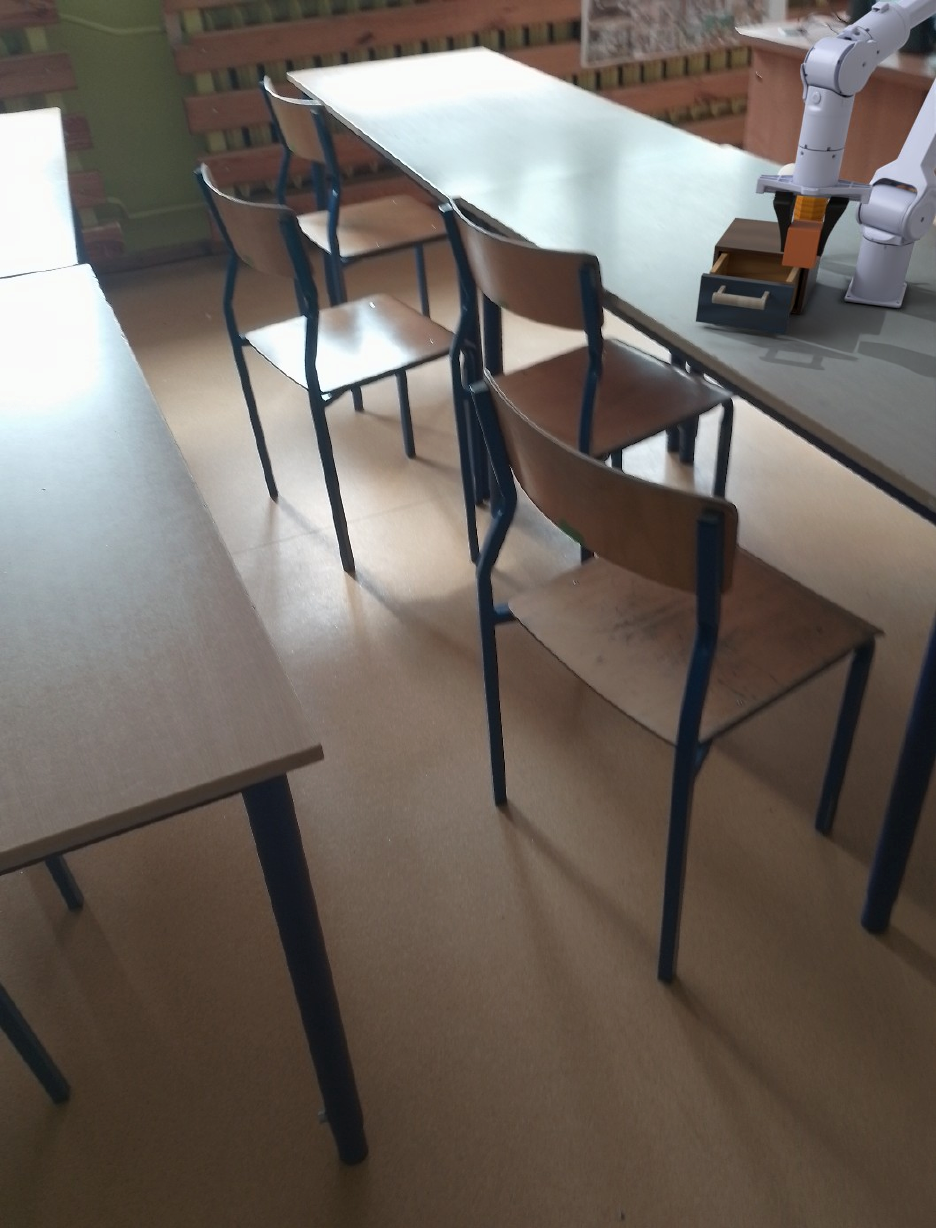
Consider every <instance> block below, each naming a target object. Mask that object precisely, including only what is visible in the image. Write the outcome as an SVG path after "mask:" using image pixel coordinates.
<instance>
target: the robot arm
mask: <svg viewBox="0 0 936 1228" xmlns="http://www.w3.org/2000/svg"><path fill="white" fill-rule="evenodd" d="M935 14H936V0H898V2H894V1H880V0H879V1H877V2H876V3H875V4H873V5H872V6H871V10H870V11H869V12H868V13H866V14H865V15H863V16H862V17H861V18H859V19H858V20H856V21H855V22H854V23H853V24H849V25H847V26H846V27H844V29H843V31H841V32H840V33H839V34H837V35H836V36H835V37H833V36H824V37H822V38H820V40H817V41H816V42H815V43H814V44H813V45H812V46H811V47H810V48H809V50H808V51H807V53H806V55H805V58H804V61H803V63H801V65H800V79H801V82H802V85H803V93H802V100H803V103H804V104H805V105H804V111H803V116H802V122H801V128H800V134H799V140H798V145H797V152H796V156H795V162H794V163H795V168H794V174H793V175H777V174H760V175H759V176H758V177H757V181H756V185H755V186H756V188H755V194H760V195H764V194H765V193H767V194H774V198H773V200H772V207H773V210H774V212H775V213H774V214H775V216H776V219H777V222H778V224H779V230H780V238H781V250H780V252H784V250H785V245H786V239H787V233H788V228H789V227H790V225H791V223H792V221H793V217H794V208H795V203H796V199H797V196H806V197H816V198H827V199H828V203H827V205H826V210H825V215H824V219H823V228H822V233H821V237H820V241H819V245H818V250H817V256H821V257H823V254H824V251H825V247H826V244H827V241H828V239H829V237H830V236H831V233H832V232H833V230H834V228H835V226H836V225H837V223H838V222H839V220H840V218H841V217H842V216H843V215H844V213H845V211H846V210H847V208H848V206H849V203H850V202H856V205H855V211H854V216H855V217H854V218H855V221H856V222H857V224H858V225H859V226H860V227H859V229H858V230H859V231H858V232H859V233H861V234H862V237H861V242H860V246H859V250H858V256H857V260H856V263H855V269H854V274H853V277H852V278H851V281H850V283H849V286H848V287H847V291H846V293H845V296H844V302H850V303H856V304H864V305H870V306H871V305H872V306H878V307H879V306H880V307H887V308H895V309H899V308H901V307H902V304H903V300H904V297H905V293H906V290H907V286H908V283H906V282H905V281H906V277H907V273H908V270H909V266H910V261H911V257H912V254H913V250H914V246H915V242H917V241H920V240H921V239H922V238H923V237H924V236H925V235H926V234H927V233H928V232H929V230H930V229H931V227H932V226H933V224H934V221H935V220H936V173H935V170H936V77H935V78H934V80H933V82H932V85H931V87H930V89H929V91H928V93H927V95H926V97H925V100H924V101H923V104H922V106H921V108H920V110H919V112H918V115H917V117H916V118H915V120H914V122H913V125H912V126H911V129H910V131H909V133H908V135H907V138H906V140H905V141H904V143H903V146H902V148H901V151H900V153H899V155H898V156H897V158H896V159H894V160H893V161H891V162H889V163H887V164H885V165H882V166H881V167H879V168H877V169H876V171H875V173H874V175H873V177H872V179H871V181H870V182H869V183H864V182H863V183H862V182H858V181H852V180H848V179H842V178H840V172H841V167H842V162H843V159H844V152H845V148H846V142H847V136H848V133H849V132H848V131H849V127H850V121H851V117H852V113H853V108H854V103H855V98H856V97H855V96H856V94H857V93H859V92H861V91H862V90H863V88H864V87H865V86H866V84H867V82H868V81H869V78H870V77H871V75H872V73H873V72H875V70H876V68H877V67H878V65H879V64H880V63H882V62H883V61H885V60H886V59H888V58H889V57H891V56H892V55H893V54H894V53H896V52H897V51H898V50H900V49H901V48H902V47H904V45H905V44H906V43H907V41H908V40H909V38H910V33H911V30H912V29H913V28H915V27H916V26H918V25H919V24H921V23H923V22H924V21H926V20H927V19H929V18H930V17H932V16H934V15H935ZM899 186H902V187H899ZM903 186H904V187H906V188H910V189H913V190H916V191H913V190H909V189H906V188H903Z"/></svg>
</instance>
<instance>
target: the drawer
mask: <svg viewBox="0 0 936 1228" xmlns="http://www.w3.org/2000/svg"><path fill="white" fill-rule="evenodd" d="M782 262H783V258H774V257H766V256H758V255H749V254H741V253H732V252H723V253H722V255H721V256H720V257H719V259H718V260H717V262H716V263H715V265H714V266H713V267H712V266H711V269H710V271H709V273H706V272H702V274H701V276H700V283H699V292H698V299H697V307H696V314H695V315H696V316H695V322H696V323H703V324H709V325H716V326H722V327H730V328H738V329H742V330H743V329H745V330H752V331H757V332H764V333H770V334H771V333H772V334H778V335H786V333H787V329H788V326H789V325H788V324H789V318H790V315H791V313H790V312H791V310H792V308H793V306H794V304H795V302H796V300H797V295H798V290H799V285H800V279H801V274H802V269H803V268H800V267H792V266H784V265H782Z"/></svg>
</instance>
